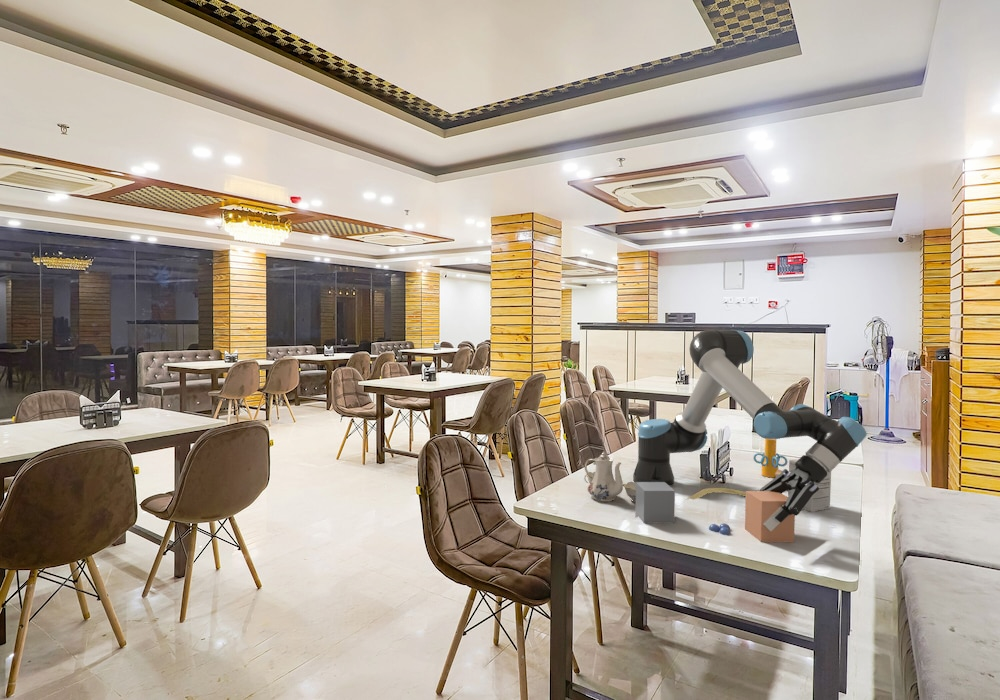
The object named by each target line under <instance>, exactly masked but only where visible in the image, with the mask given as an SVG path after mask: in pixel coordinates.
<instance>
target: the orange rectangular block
mask: <svg viewBox="0 0 1000 700" xmlns="http://www.w3.org/2000/svg"><path fill="white" fill-rule="evenodd" d="M745 492H746V497H745V505H744V506H745V507H744V508H745V510H744V511H745V512H744V515H745V516H744V530H745V531H747V532H748V533H749V535H751V536H752V537H754V538H755V539H757V540H758V541H759V542H760V543H762V542H763V543H769V542H770V543H772V542H773V543H776V542H777V543H780V542H781V543H783V542H785V543H790V542H791V543H794V542H795V527H796V525H795V524H796V523H795V522H796V516H795V515H794V514H792V515H788V516H787V517H786V518H785V519H784V520H783V521H782V522H780V523H779V524H778V525H777V526H776V527H775V528H774V529H773V530H772V531H769V530H768V529H767V528H766V527H765V526H764V525H763V523H764V522H765V521H766V520H767V519H768V518H769V517H770V516H771V515H772V514H773V513H774V512H775V511H776V510H777V509H778V508H779V507H781V505H784V504H785V502H786V500H787V498H788V496H787V495H785V494H783V493H780V492H772V491H759V490H746V491H745ZM781 508H782V507H781ZM782 509H783V508H782Z"/></svg>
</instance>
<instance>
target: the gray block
mask: <svg viewBox="0 0 1000 700" xmlns="http://www.w3.org/2000/svg"><path fill="white" fill-rule="evenodd" d="M635 483H636V502H635V510H634V511H635V512H634V513H635V518H639V519H640V520H641V522H642V523H643V524H675V507H676V506H675V505H676V504H675V501H676V499H675V498H676V497H675V496H676V490H674V489H673V488H672V487H671V486H669V485H668V484H666V483H665V482H635Z"/></svg>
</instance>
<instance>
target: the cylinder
mask: <svg viewBox="0 0 1000 700" xmlns="http://www.w3.org/2000/svg"><path fill="white" fill-rule="evenodd" d="M757 456H761V458H760V461H759V460H757ZM780 459H784V462H783V464H781V463H779V462H780ZM753 461H754V462H755V463H757V464H760V465H761V476H762V477H765V478H771V479H772V478H773V479H774V478H776V476H775V473H776V472H777V470H779V467H785V466H786V465H788V459H787V458H786V456H784V455H780V453H777V439H766V438H764V452H763V453H761V452H756V453H755V454H754V455H753Z"/></svg>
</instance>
